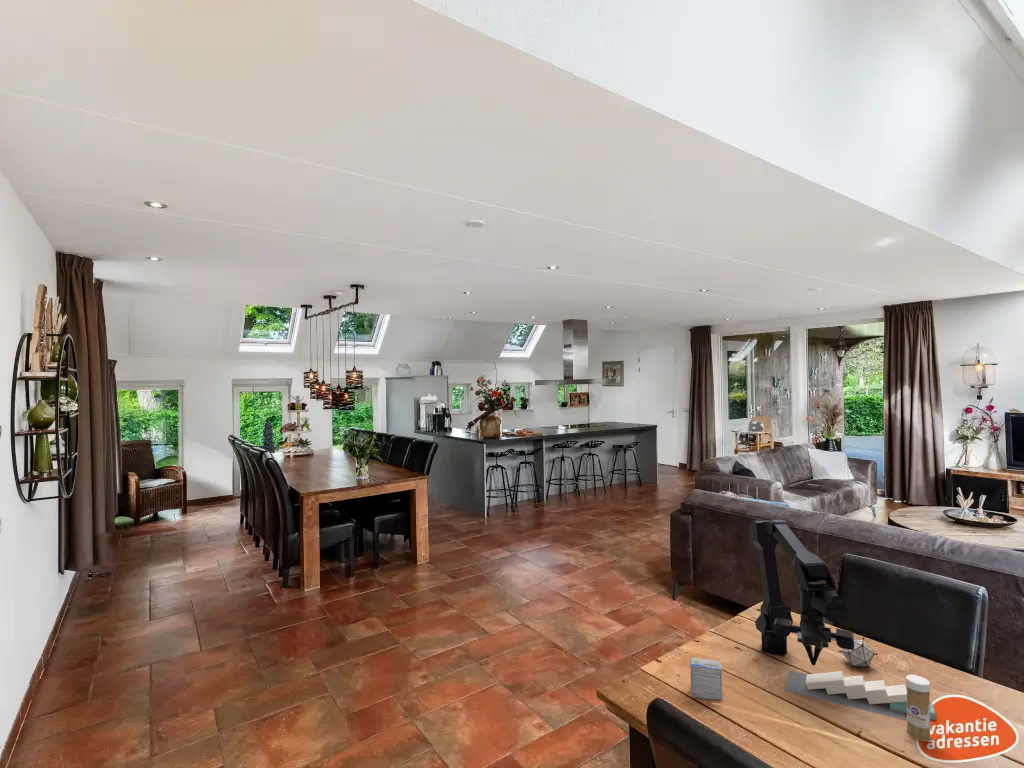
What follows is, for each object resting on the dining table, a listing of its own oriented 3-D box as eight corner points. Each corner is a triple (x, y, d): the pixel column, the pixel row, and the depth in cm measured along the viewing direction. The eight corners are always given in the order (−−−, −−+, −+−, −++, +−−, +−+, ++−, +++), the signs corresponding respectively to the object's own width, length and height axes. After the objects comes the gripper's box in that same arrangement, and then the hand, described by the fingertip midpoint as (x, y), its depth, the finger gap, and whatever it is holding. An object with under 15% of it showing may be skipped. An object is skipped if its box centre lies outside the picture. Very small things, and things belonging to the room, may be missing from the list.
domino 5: (889, 702, 135) (935, 713, 131) (888, 692, 140) (932, 702, 135) (889, 709, 135) (935, 720, 131) (888, 699, 140) (932, 709, 135)
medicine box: (722, 693, 145) (721, 660, 145) (722, 702, 140) (722, 669, 141) (691, 688, 147) (690, 656, 147) (690, 697, 143) (690, 664, 143)
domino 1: (805, 683, 145) (842, 679, 140) (806, 674, 149) (842, 671, 145) (808, 689, 144) (845, 686, 140) (809, 680, 149) (844, 677, 144)
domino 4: (866, 697, 138) (907, 694, 133) (865, 688, 142) (905, 684, 138) (869, 704, 137) (910, 701, 133) (868, 694, 142) (907, 691, 137)
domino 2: (825, 688, 142) (863, 684, 138) (825, 679, 147) (862, 675, 142) (828, 694, 142) (866, 691, 138) (828, 685, 146) (865, 681, 142)
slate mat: (785, 693, 144) (785, 690, 144) (788, 672, 154) (788, 670, 154) (906, 722, 131) (905, 720, 131) (900, 697, 141) (900, 695, 141)
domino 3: (845, 692, 140) (885, 689, 136) (845, 683, 144) (883, 679, 140) (848, 699, 140) (887, 696, 135) (848, 689, 144) (886, 686, 140)
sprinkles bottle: (905, 738, 125) (904, 679, 125) (907, 728, 129) (906, 671, 129) (931, 746, 122) (929, 686, 122) (932, 736, 126) (930, 678, 126)
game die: (859, 676, 158) (872, 644, 161) (875, 680, 150) (888, 647, 153) (829, 657, 161) (842, 626, 163) (842, 661, 153) (855, 628, 155)
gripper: (771, 611, 144) (772, 670, 144) (854, 626, 134) (855, 688, 134) (774, 596, 153) (775, 651, 153) (852, 609, 144) (853, 668, 144)
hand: (813, 664), depth 146 cm, fingers closed
